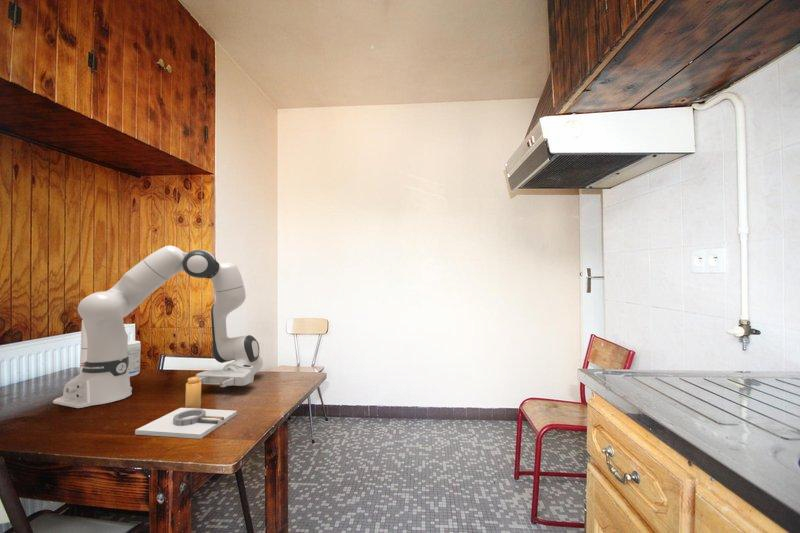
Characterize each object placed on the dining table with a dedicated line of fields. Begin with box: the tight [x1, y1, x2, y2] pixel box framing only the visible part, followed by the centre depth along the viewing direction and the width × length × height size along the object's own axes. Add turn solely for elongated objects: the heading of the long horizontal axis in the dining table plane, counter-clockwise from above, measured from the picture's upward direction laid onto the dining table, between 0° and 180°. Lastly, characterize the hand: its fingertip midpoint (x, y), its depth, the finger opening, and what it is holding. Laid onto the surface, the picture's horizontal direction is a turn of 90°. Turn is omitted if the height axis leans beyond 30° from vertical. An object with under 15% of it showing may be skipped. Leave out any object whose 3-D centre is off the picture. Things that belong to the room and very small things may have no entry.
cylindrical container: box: [79, 319, 87, 374], centre depth 147 cm, size 7×7×25 cm
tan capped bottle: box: [184, 376, 202, 409], centre depth 110 cm, size 4×4×10 cm
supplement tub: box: [127, 340, 142, 378], centre depth 147 cm, size 10×10×15 cm
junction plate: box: [134, 407, 238, 440], centre depth 98 cm, size 20×16×3 cm
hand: (209, 384), depth 118 cm, fingers open, 8 cm apart
